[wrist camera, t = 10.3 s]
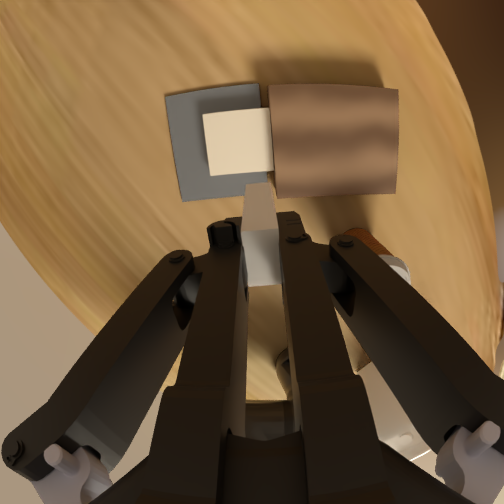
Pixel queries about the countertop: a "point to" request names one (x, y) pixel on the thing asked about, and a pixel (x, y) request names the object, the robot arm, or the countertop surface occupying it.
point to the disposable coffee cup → (381, 252)
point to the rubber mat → (194, 144)
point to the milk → (391, 416)
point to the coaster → (238, 141)
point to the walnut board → (333, 139)
